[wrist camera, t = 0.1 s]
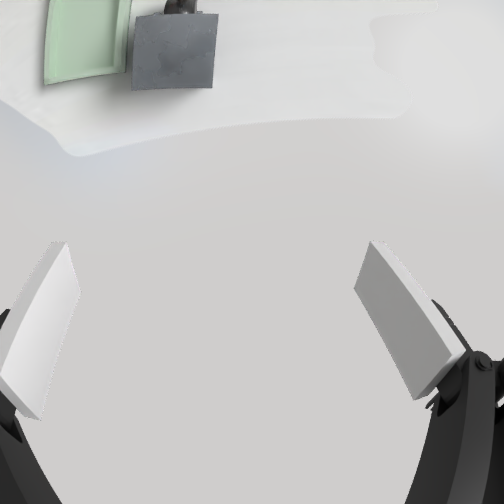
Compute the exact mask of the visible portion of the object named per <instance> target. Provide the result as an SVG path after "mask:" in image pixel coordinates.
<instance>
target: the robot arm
mask: <svg viewBox="0 0 504 504" xmlns="http://www.w3.org/2000/svg"><path fill="white" fill-rule="evenodd" d="M354 289H355V291H356V293H357V295H358V296H359V298H360V300H361V301H362V303H363V305H364V307H365V308H366V310H367V311H368V314H369V316H370V317H371V319H372V321H373V323H374V325H375V326H376V328H377V330H378V332H379V334H380V336H381V337H382V339H383V341H384V343H385V345H386V347H387V349H388V351H389V352H390V354H391V356H392V358H393V360H394V362H395V364H396V366H397V368H398V370H399V372H400V374H401V376H402V378H403V380H404V382H405V384H406V386H407V388H408V390H409V392H410V394H411V396H412V398H413V400H417V399H420V398H422V397H425V396H428V395H429V394H430V393H431V392H432V391H433V389H434V388H435V387H437V389H438V391H439V392H438V393H437V394H436V395H435V396H434V397H433V398H432V400H430V401H429V403H428V404H427V405H426V407H425V408H426V409H428V408H429V407H430V406H431V405H432V404H433V403H434V405H433V407H432V409H431V411H432V414H431V419H430V423H429V428H428V432H427V436H426V440H425V444H424V447H423V451H422V454H421V458H420V461H419V465H418V468H417V471H416V474H415V477H414V480H413V483H412V485H411V488H410V491H409V494H408V497H407V499H406V502H405V504H504V404H503V405H502V406H501V407H498V403H497V402H498V401H499V400H500V399H502V398H503V396H504V358H503V359H502V361H492V360H491V358H490V357H489V356H488V355H487V354H485V353H483V352H481V351H474V352H473V350H472V349H471V348H470V346H469V344H468V343H467V341H466V340H465V339H464V337H463V336H462V334H461V333H460V331H459V330H458V329H457V327H456V326H455V325H454V323H453V321H452V320H451V319H450V318H449V316H448V315H447V313H446V312H445V310H444V309H443V308H442V307H441V306H440V305H439V304H438V303H436V302H435V301H434V300H430V298H429V297H428V296H427V294H426V293H425V292H424V290H423V289H422V288H421V286H420V285H419V284H418V283H417V281H416V280H415V279H414V278H413V276H412V275H411V274H410V273H409V271H408V270H407V269H406V268H405V266H404V265H403V264H402V263H401V261H400V260H399V259H398V258H397V257H396V255H395V254H394V253H393V252H392V251H391V249H390V248H389V247H388V246H387V245H386V244H385V242H383V241H370V243H369V247H368V250H367V253H366V256H365V259H364V261H363V264H362V268H361V270H360V273H359V276H358V279H357V282H356V284H355V287H354ZM80 295H81V290H80V287H79V284H78V280H77V277H76V274H75V271H74V267H73V264H72V261H71V257H70V253H69V249H68V246H67V242H52V243H51V244H50V246H49V247H48V249H47V250H46V252H45V253H44V255H43V256H42V258H41V259H40V261H39V262H38V264H37V265H36V267H35V269H34V270H33V272H32V274H31V275H30V277H29V278H28V280H27V282H26V283H25V285H24V287H23V288H22V290H21V292H20V294H19V296H18V297H17V299H16V301H15V303H14V304H13V306H12V308H11V309H6V310H5V311H4V312H3V313H2V314H1V315H0V504H62V503H61V501H60V500H59V498H58V496H57V495H56V493H55V492H54V490H53V489H52V487H51V485H50V484H49V482H48V480H47V478H46V477H45V475H44V473H43V471H42V469H41V468H40V466H39V464H38V462H37V460H36V458H35V456H34V454H33V452H32V450H31V448H30V446H29V444H28V441H27V440H26V437H25V435H24V433H23V431H22V428H21V426H20V423H19V421H18V419H17V418H16V416H15V411H16V409H17V410H18V411H19V412H21V414H22V415H24V416H25V417H29V418H33V419H36V420H40V421H41V418H42V414H43V409H44V405H45V401H46V397H47V393H48V389H49V386H50V382H51V379H52V375H53V372H54V368H55V365H56V361H57V358H58V355H59V352H60V349H61V346H62V343H63V340H64V337H65V334H66V332H67V328H68V326H69V323H70V321H71V318H72V315H73V312H74V310H75V307H76V305H77V302H78V300H79V297H80Z"/></svg>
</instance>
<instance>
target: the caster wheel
mask: <svg viewBox="0 0 504 504" xmlns="http://www.w3.org/2000/svg"><path fill="white" fill-rule="evenodd" d="M218 15H219V14H203V12H202V11H197V0H167V2H166V5H165V10H164V15H162V14H161V13H154V15H151V16H140V17H136V23H135V34H134V47H133V65H132V90H145V89H166V88H212V82H213V69H214V57H215V45H216V35H217V25H218Z"/></svg>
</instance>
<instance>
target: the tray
mask: <svg viewBox="0 0 504 504" xmlns="http://www.w3.org/2000/svg"><path fill="white" fill-rule="evenodd" d="M131 2H132V0H50V4H49V11H48V19H47V28H46V39H45V56H44V85H49V84H54V83H59V82H64V81H69V80H74V79H79V78H85V77H92V76H98V75H105V74H113V73H122V72H126V57H127V42H128V29H129V19H130V10H131Z"/></svg>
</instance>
